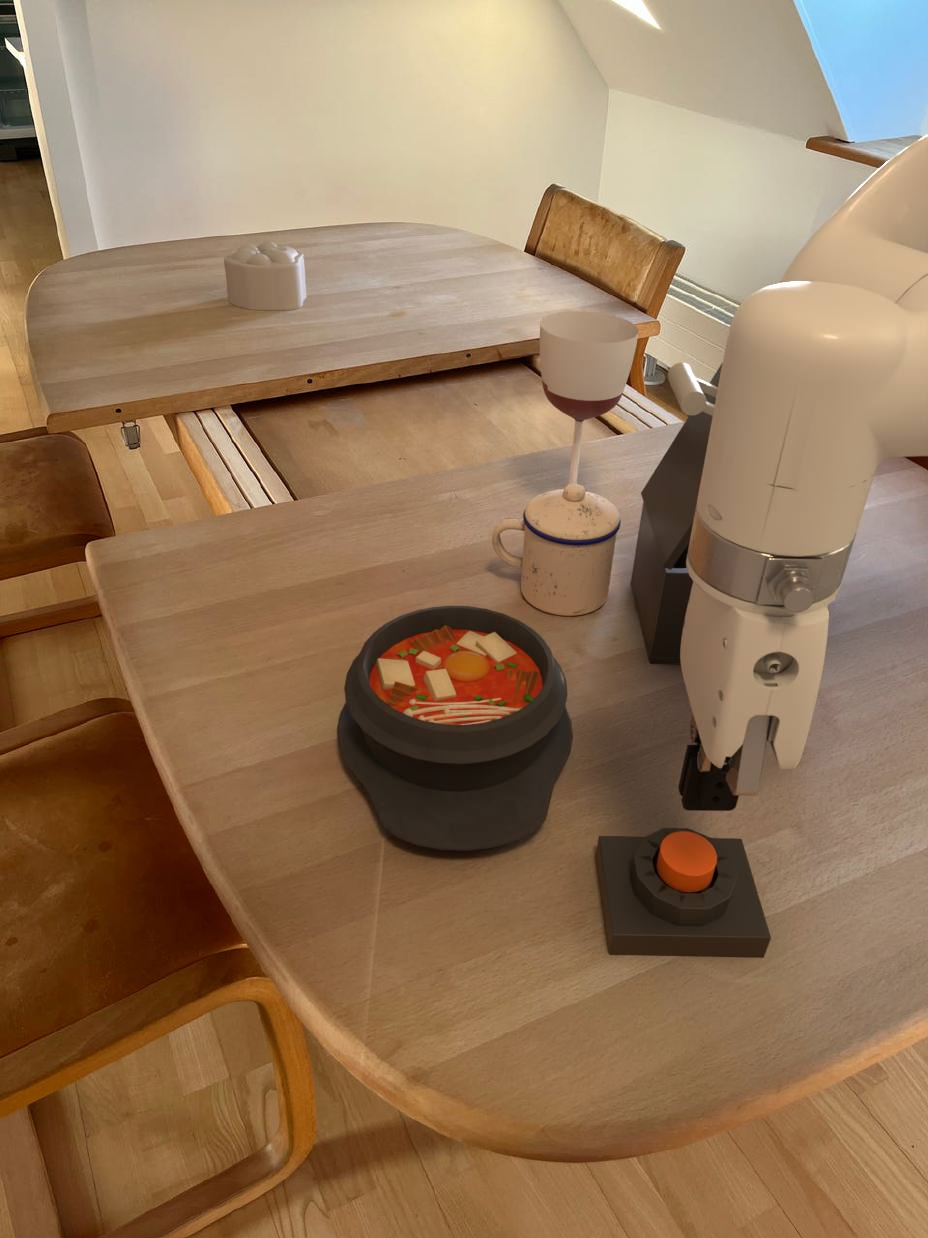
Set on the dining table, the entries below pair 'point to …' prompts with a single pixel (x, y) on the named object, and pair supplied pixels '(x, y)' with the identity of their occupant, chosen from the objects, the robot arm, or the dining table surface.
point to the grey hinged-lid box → (659, 597)
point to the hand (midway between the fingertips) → (705, 800)
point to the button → (686, 861)
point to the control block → (678, 902)
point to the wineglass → (585, 366)
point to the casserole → (456, 727)
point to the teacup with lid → (564, 550)
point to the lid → (681, 465)
